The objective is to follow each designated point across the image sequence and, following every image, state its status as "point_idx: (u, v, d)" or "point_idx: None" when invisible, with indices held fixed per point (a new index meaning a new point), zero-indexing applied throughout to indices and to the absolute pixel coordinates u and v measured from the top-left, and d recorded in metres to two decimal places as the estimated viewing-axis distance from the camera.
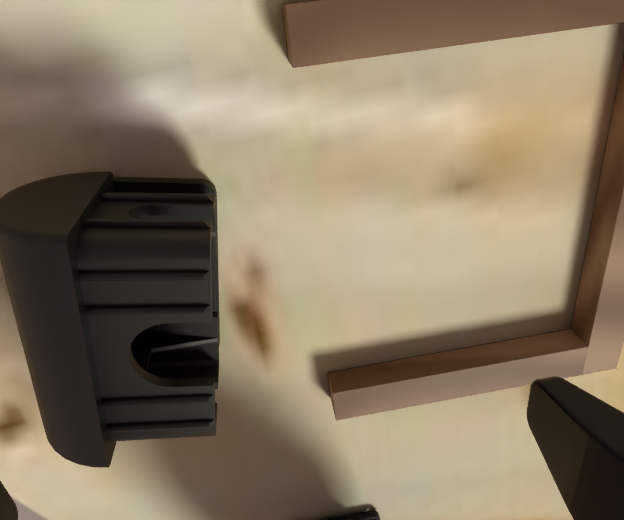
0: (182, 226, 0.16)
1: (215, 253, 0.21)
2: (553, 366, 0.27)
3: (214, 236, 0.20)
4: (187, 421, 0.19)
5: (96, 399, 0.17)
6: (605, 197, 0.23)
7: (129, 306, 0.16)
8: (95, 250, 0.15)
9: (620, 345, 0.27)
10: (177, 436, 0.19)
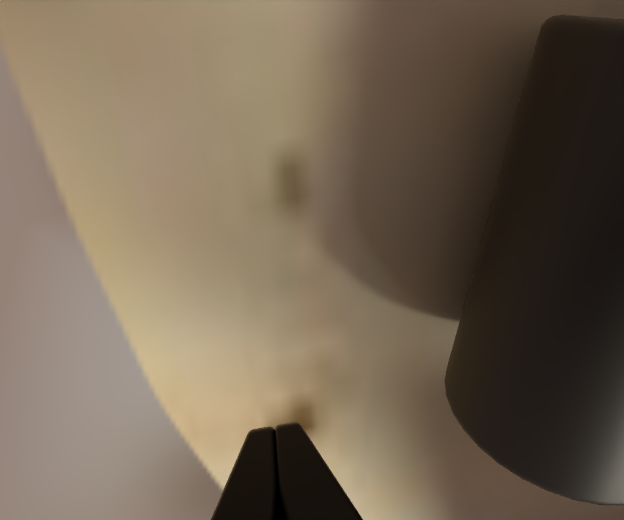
0: None
1: None
2: None
3: None
4: None
5: None
6: None
7: None
8: None
9: None
10: None
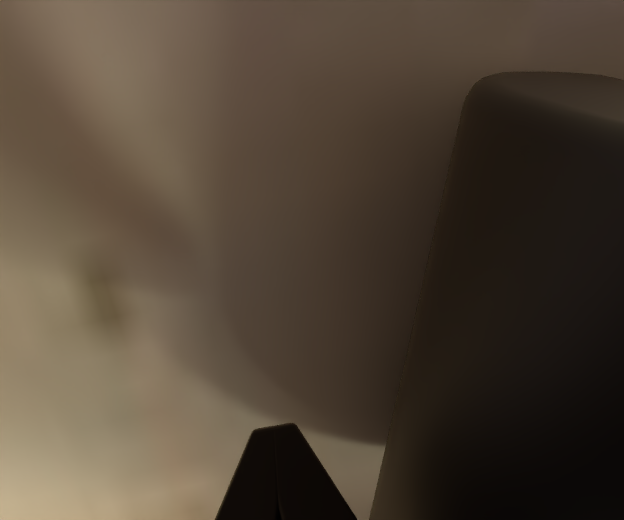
0: None
1: None
2: None
3: None
4: None
5: None
6: None
7: None
8: None
9: None
10: None
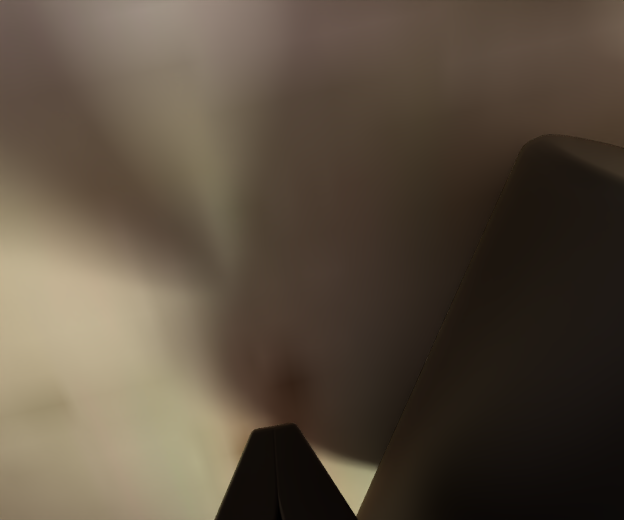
0: None
1: None
2: None
3: None
4: None
5: None
6: None
7: None
8: None
9: None
10: None
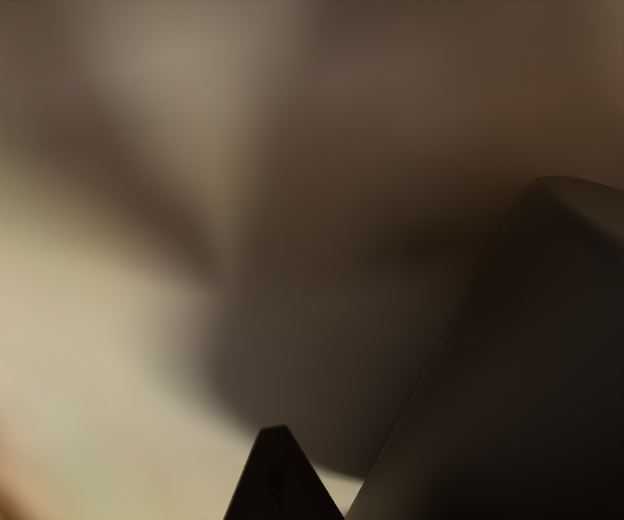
0: None
1: None
2: None
3: None
4: None
5: None
6: None
7: None
8: None
9: None
10: None
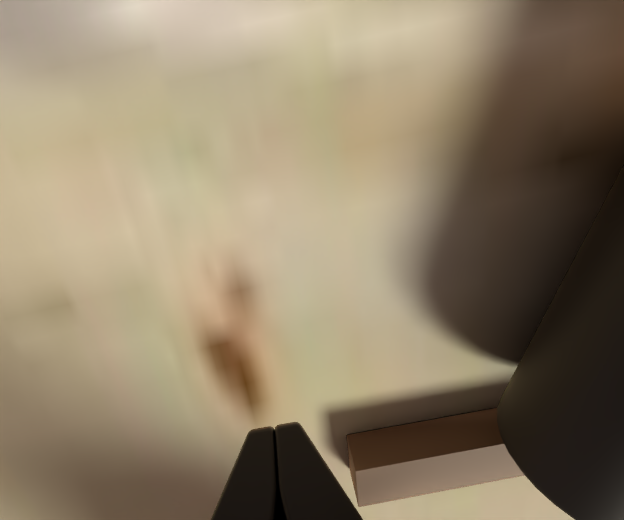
0: None
1: None
2: None
3: None
4: None
5: None
6: None
7: None
8: None
9: None
10: None
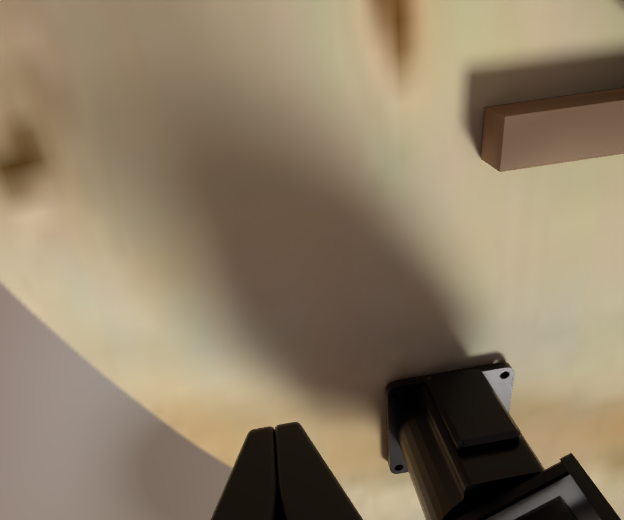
0: None
1: None
2: None
3: None
4: None
5: None
6: None
7: None
8: None
9: None
10: None
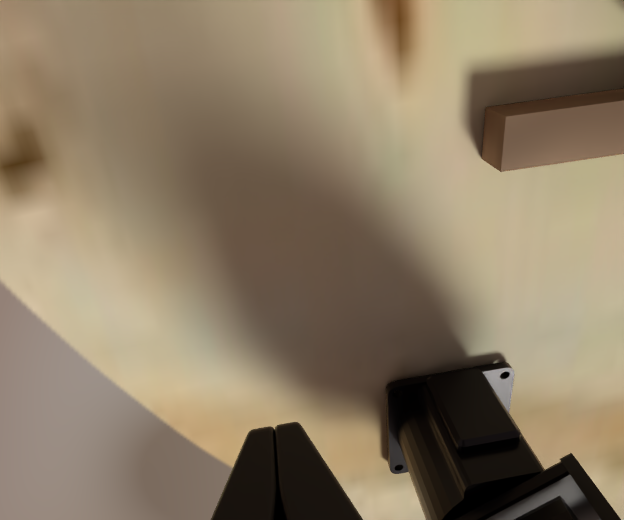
0: None
1: None
2: None
3: None
4: None
5: None
6: None
7: None
8: None
9: None
10: None
